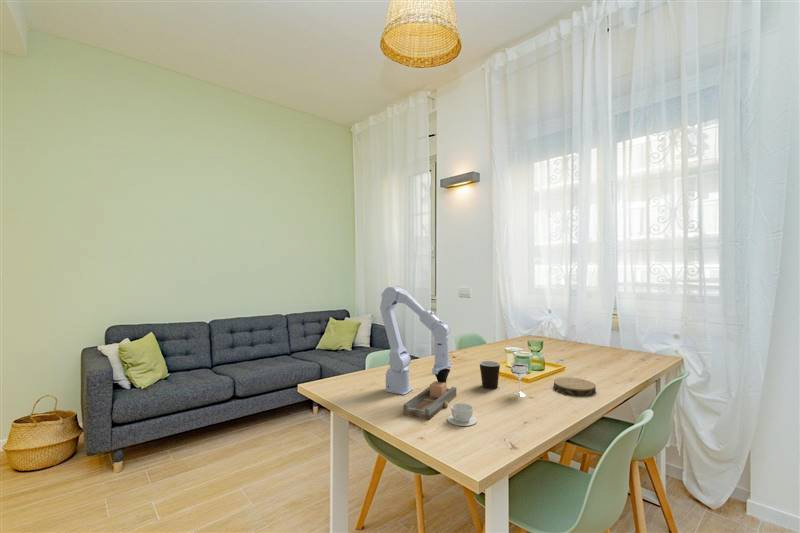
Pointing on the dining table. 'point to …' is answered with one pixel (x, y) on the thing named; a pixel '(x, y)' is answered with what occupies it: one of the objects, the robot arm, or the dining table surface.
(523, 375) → the wineglass
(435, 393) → the salmon orange block
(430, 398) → the grey rectangular tray
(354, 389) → the dining table surface
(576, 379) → the wood slice
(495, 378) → the coffee mug
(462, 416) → the teacup
